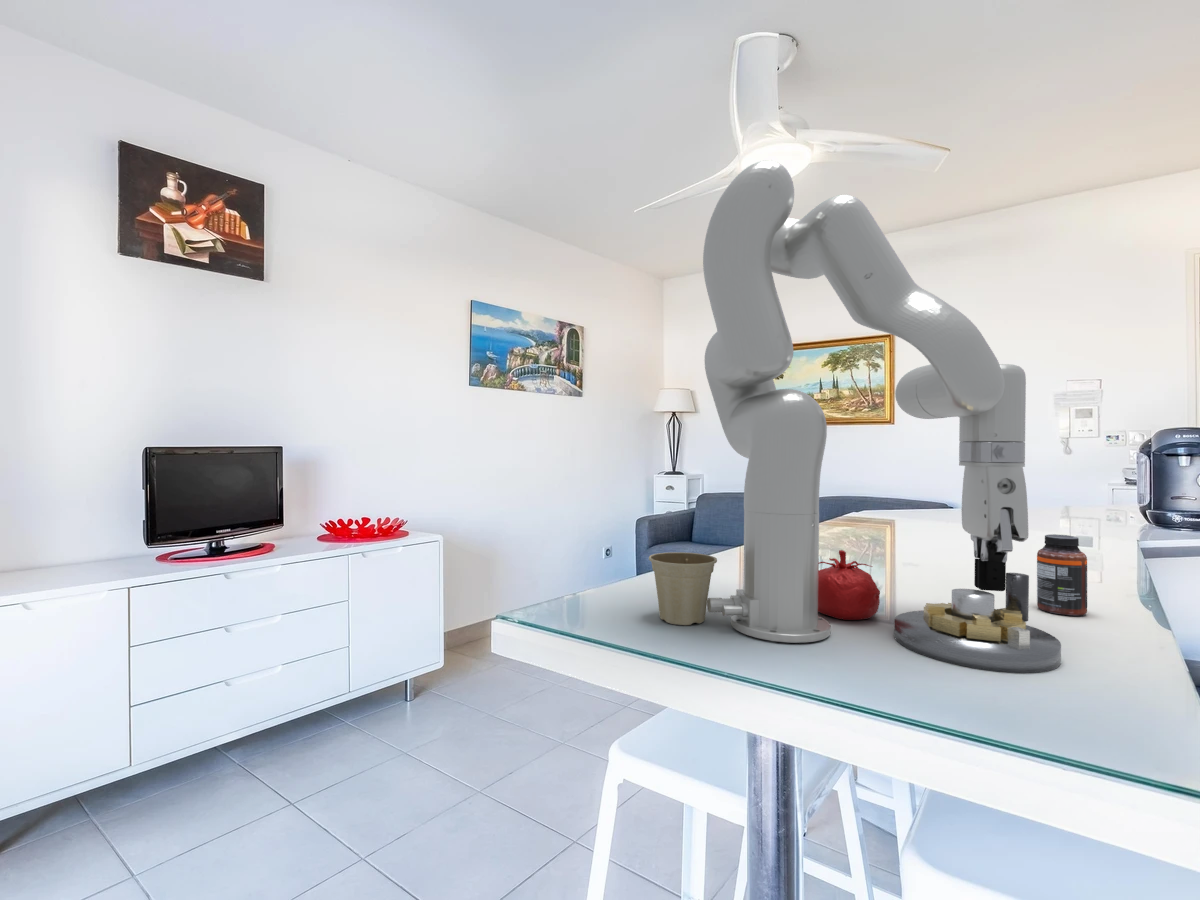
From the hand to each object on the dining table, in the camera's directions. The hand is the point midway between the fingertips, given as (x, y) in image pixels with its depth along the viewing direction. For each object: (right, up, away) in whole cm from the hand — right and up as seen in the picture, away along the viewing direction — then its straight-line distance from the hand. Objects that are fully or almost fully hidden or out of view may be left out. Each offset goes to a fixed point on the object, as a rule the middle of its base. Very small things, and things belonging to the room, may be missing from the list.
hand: (989, 588), depth 80 cm
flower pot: (-42, -5, +1) cm, 42 cm away
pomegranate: (-18, -5, +4) cm, 20 cm away
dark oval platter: (-8, -5, -9) cm, 13 cm away
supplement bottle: (+16, -5, +7) cm, 18 cm away
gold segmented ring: (-6, -3, -8) cm, 10 cm away
